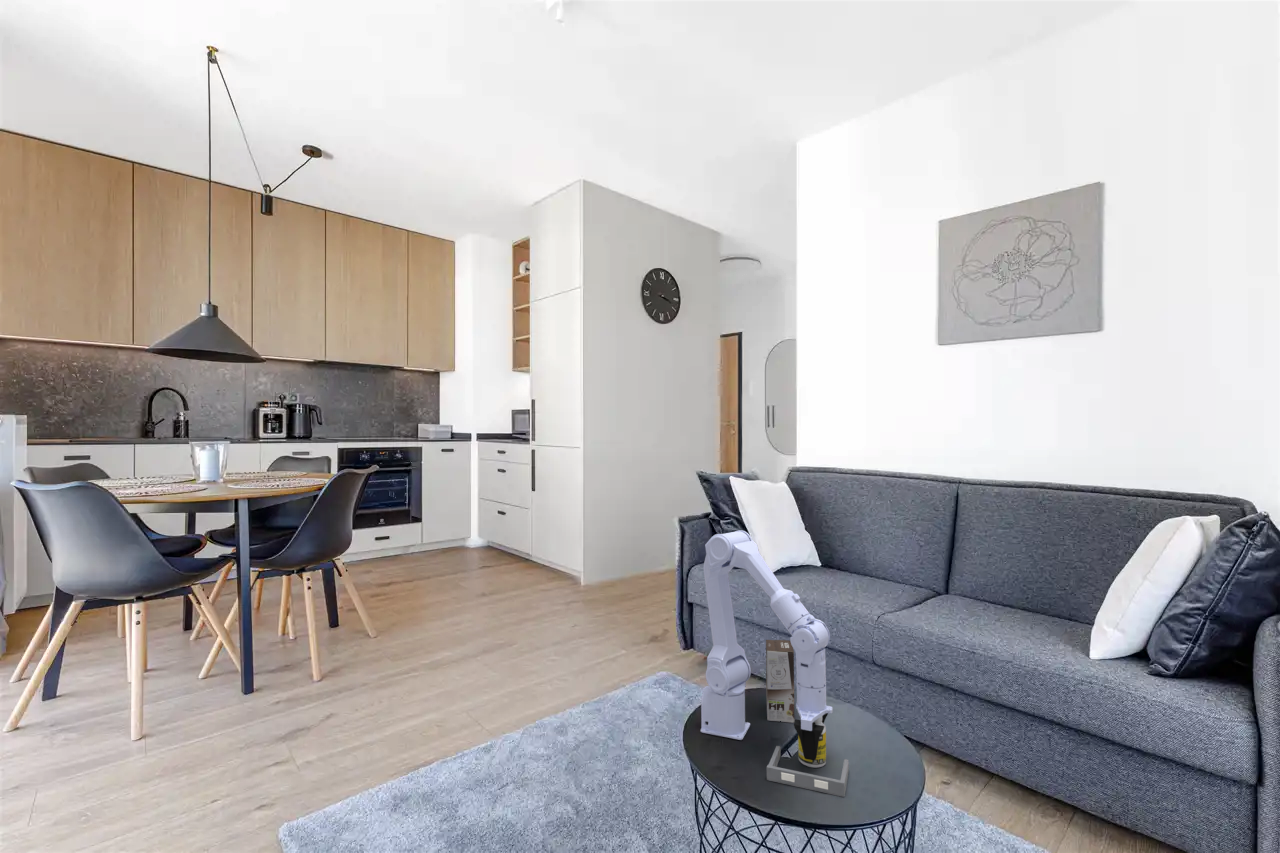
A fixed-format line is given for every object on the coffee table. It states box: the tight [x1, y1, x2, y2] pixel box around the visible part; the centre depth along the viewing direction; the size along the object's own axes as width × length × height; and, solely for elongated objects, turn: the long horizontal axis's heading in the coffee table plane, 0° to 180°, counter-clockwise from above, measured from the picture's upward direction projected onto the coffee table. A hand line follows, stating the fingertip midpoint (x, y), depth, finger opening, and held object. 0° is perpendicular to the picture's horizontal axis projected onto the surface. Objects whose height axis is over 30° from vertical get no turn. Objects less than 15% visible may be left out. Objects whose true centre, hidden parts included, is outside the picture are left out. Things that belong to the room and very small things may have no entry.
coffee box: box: [765, 639, 795, 724], centre depth 141 cm, size 9×6×16 cm
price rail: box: [766, 745, 850, 798], centre depth 114 cm, size 14×10×2 cm
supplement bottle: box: [797, 716, 827, 769], centre depth 119 cm, size 5×5×10 cm
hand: (812, 751), depth 119 cm, fingers closed on supplement bottle, 5 cm apart
